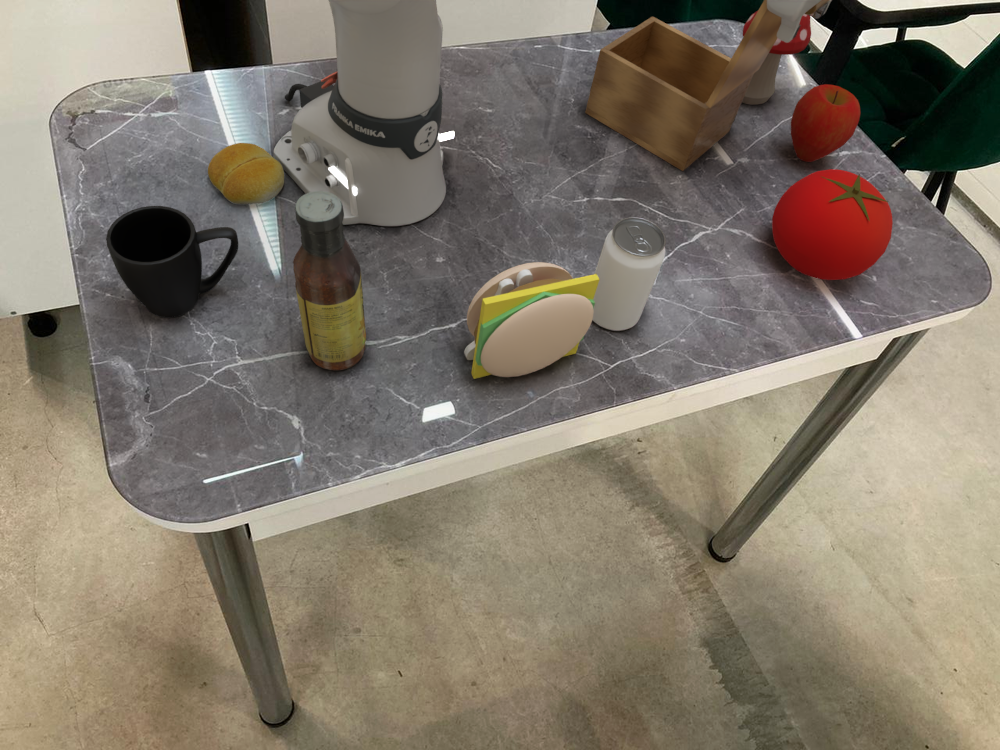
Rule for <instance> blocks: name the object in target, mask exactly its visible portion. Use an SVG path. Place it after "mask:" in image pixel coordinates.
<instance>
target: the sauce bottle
mask: <svg viewBox="0 0 1000 750" xmlns="http://www.w3.org/2000/svg"><path fill="white" fill-rule="evenodd" d="M294 210H295V219H296V223H298V225H299V229H300V243H301V245H300V247H299V249H298V250H297V252H296V253H295V254H294V257H293V260H292V265H293V267H292V268H293V274H294V280H295V284H294V287H295V293H296V298H297V303H298V309H299V310H298V311H299V316H300V321H301V326H302V332H303V337H304V344H305V347H306V350H307V352H308V355H309V357H310V359H311V361H312V362H313V363H314V364H315V365H316V366H318V367H319V368H322V369H324V370H331V371H334V372H335V371H343V370H347V369H349V368H352V367H354V366H355V365H356V364H358V363H359V362H360V361H361V359H362V358H363V356H364V353H365V350H366V342H367V331H366V319H365V307H364V292H363V291H364V290H363V282H362V281H363V279H362V270H361V265H360V262H359V260H358V259H357V257H356V255H355V253H354V251H353V249H352V248H351V246H350V244H349V242H348V240H347V239H346V236H345V233H344V225H343V223H342V222H343V218H344V211H343V205H342V203H341V201H340V199H339V198H338V197H337V196H336V195H334V194H332V193H329V192H324V191H317V192H309V193H307V194H305V193H304V194H303V195H301V196H300V197H298V199H297V201H296V203H295V205H294Z"/></svg>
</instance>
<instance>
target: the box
mask: <svg viewBox="0 0 1000 750" xmlns="http://www.w3.org/2000/svg"><path fill="white" fill-rule="evenodd" d="M731 58H732V57H730V56H728V55H726V54H724V53H722V52H721V51H719V50H717V49H715V48H713V47H711V46H709V45H707V44H706V43H704V42H702V41H700V40H697V39H696V38H694V37H692V36H691V35H688V34H687V33H685V32H683V31H681V30H679V29H678V28H675V27H674V26H672V25H670V24H668V23H665V22H664V21H663V20H660V19H658V18H657V17H655V16H650V17H648V19H646V20H644V21H643V22H641V23H640V24H638V25H637V26H635V27H633V28H632V29H630V30H629V31H626V32H625V33H624V34H621V36H619V37H617V38H616V39H615V40H613V41H612V42H610V43H608V44H607V45H605V46H603V47H602V48H600V50H599V54H598V57H597V62H596V65H595V70H594V74H593V78H592V83H591V87H590V91H589V95H588V98H587V103H586V107H585V111H584V113H585V114H586V115H588V116H589V117H591V118H593V119H595V120H596V121H598V122H600V123H601V124H603V125H605V126H607V127H608V128H610V129H611V130H613V131H615V132H616V133H617V134H620V135H621V136H623V137H625V138H626V139H628V140H630V141H631V142H633V143H635V144H637V145H638V146H640V147H641V148H643V149H645V150H646V151H648V152H650V153H651V154H653V155H655V156H657V157H658V158H660V159H661V160H663V161H665V162H667V163H668V164H670V165H672V166H673V167H675V168H676V169H678V170H680V171H682V172H684V171H685V170H687V169H688V168H689V167H690V166H691V165H692V164H694V163H695V162H696V161H697V160H699V158H700V157H702V155H704V154H705V153H706V152H708V151H709V150H710V149H711V148H713V146H714V145H716V144H717V143H718V142H719V141H720V140H722V139H723V138H724V137H725V136H726V135H728V133H730V131H731V129H732V126H733V124H734V122H735V119H736V117H737V114H738V112H739V110H740V108H741V105H742V104H743V103H742V100H743V98H744V96H745V93H746V91H747V89H748V86H749V84H750V81H751V79H752V77H753V74H752V75H751V76H750V77H749V78H747V79H746V80H745V81H744V82H742V83H741V84H740V85H739V86H737V87H736V88H735V89H734V90H732V91H731V92H730V93H729V94H727V95H726V96H725V97H724V98H722V99H721V100H720V101H719V102H717V103H716V104H715V105H714V106H713V107H711V108H709V107H708V106H707V105H706V103H707V101H708V99H709V97H710V96H711V94H712V92H713V90H714V89H715V87H716V85H717V83H718V81H719V80H720V78H721V76H722V74H723V73H724V71H725V69H726V67H727V65H728V64H729V62H730V60H731Z"/></svg>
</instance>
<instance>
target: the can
mask: <svg viewBox="0 0 1000 750" xmlns="http://www.w3.org/2000/svg"><path fill="white" fill-rule="evenodd" d="M666 242H667V239H666V235H665V233H664V231H663V230H662V229H661V227H660V226H658V224H656V223H654V222H653V221H651V220H649V219H647V218H643V217H637V216H629V217H625V218H622V219H619V220H618V221H616V223H615V224H614V225H613V228H612V229H611V230H610V231H609V232H608V233H607V235H606V236H605V240H604V243H603V245H602V249H601V251H600V254H599V258H598V261H597V264H596V267H595V271H594V274H597V276H598V277H599V279H600V280H599V283H598V286H597V289H596V292H595V295H594V298H593V300H594V302H595V305H594V308H593V311H594V313H593V320H592V322H593V323H595V324H596V325H597V326H599V327H601V328H603V329H605V330H608V331H614V332H620V331H625V330H628V329H631V328H633V327H635V326H636V325H637V323H638V322H639V321H640V318H642V317H641V316H642V314H643V312H644V309H645V307H646V305H647V302H648V300H649V297H650V295H651V292H652V290H653V287H654V285H655V283H656V280H657V277H658V275H659V273H660V271H661V267H662V265H663V262H664V260H665V256H666V244H667V243H666Z"/></svg>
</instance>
